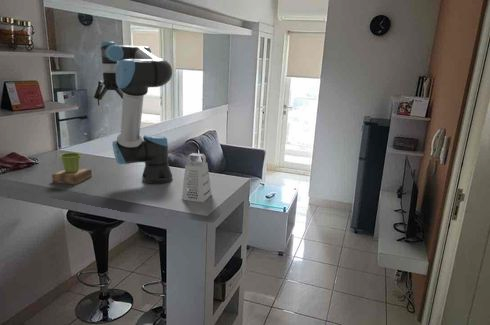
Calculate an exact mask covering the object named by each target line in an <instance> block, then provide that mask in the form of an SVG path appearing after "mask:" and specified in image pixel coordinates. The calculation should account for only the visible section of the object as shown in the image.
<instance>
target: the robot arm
mask: <svg viewBox="0 0 490 325" xmlns="http://www.w3.org/2000/svg"><path fill="white" fill-rule="evenodd" d="M100 53H101V67H102V72H103V73H102V78H103V80H100V81H98V82H97V87H96V90H95V93H94V96H93V98H94V99H97V104H98V106H99V112H100V113H102V112H103V113H104V112H105V108H104V105H105V104H104V99H103V98H104V96H105V95H106V93H107V92H108V91H115V92H116V93H117V94H118V95H119V97H120V99H122V101H121V108H122V109H121V122H120V124H121V125H120V133H119V134H118V135H117V136H116V140H113V141H112V150H113V154H114V159H115V161H116V163H117V164H119V165H129V164H135V163H144V168H143V172H142V175H141V176H142V177H141V178H142V182H144V183H146V184H151V185H152V184H155V185H159V184H165V183H168V182H171V181H172V180H173V173H172V171H171V168H170V166H169V145H168V139H167V137H166V136H163V135H159V134H150V133H149V134H144V135H143V138H142V137H141V136H140V134H141V125H142V124H141V123H142V114H143V106H144V96H146V95H147V94H148V90H149V88H158V87H163V86H165V85H166V84H168V82H170V80H171V79H172V76H173V67H172V65H171V63H170V62H168V61H167V60H165V59H164V58H159V57H157V56H155V54H153V53H152V51H151V48H150V47H149V46H144V45H138V46H137V45H118V44H116V42H115V41H109V40H108V41H106V40H105V41H101V42H100ZM103 86H104V87H103Z"/></svg>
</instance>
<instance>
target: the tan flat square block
mask: <svg viewBox="0 0 490 325" xmlns="http://www.w3.org/2000/svg"><path fill="white" fill-rule="evenodd" d="M92 176H93V174H92V169H91V168H81V167H79V170H78V171H77V172H74V173H72V172H70V173H67V172H65V168H64V169H62V170H59V171H57V172H54V173H53V174H51V177H52V183H58V184H67V185H68V184H69V185H78V184H80V183H82V182H84V181H86V180H88V179H90V178H92Z"/></svg>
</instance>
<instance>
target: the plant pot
mask: <svg viewBox="0 0 490 325" xmlns="http://www.w3.org/2000/svg"><path fill="white" fill-rule="evenodd" d="M59 157H60V158H61V160H62V164H63V167H64V169H65V172H67V173H70V172H72V173H74V172H77V171H78V170H79V168H80V166H79V165H80V158H81V153H78V152H66V153H61V154H59Z"/></svg>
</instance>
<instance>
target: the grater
mask: <svg viewBox="0 0 490 325" xmlns="http://www.w3.org/2000/svg"><path fill="white" fill-rule="evenodd" d="M191 156H195V157H200V158H202V161H195V160H191V159H192V158H191ZM186 163H187V164H185V168H184V177H183V186H182V194H181V200H182V201H183V200H185V201H191V202H192V201H193V202H200V203H205V201H207V199H208V198H210V197H211V196H212V194H213V192H212V186H211V185H212V184H211V179H210V173H209V167H208V166H209V165H208V164H209V163H208V162H207V156H206V155H205V154H204V153H195V152H192V153H191V154H189V155H188V156H187V158H186Z"/></svg>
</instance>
